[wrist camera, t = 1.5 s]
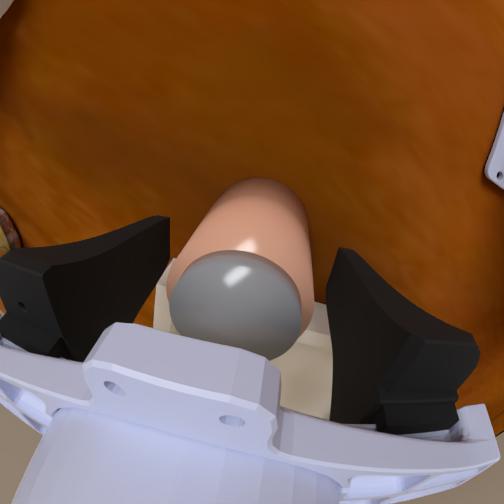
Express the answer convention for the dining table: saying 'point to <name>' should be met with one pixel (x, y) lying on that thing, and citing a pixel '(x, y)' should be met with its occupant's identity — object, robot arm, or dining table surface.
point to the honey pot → (4, 6)
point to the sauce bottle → (7, 234)
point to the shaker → (246, 271)
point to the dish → (285, 358)
